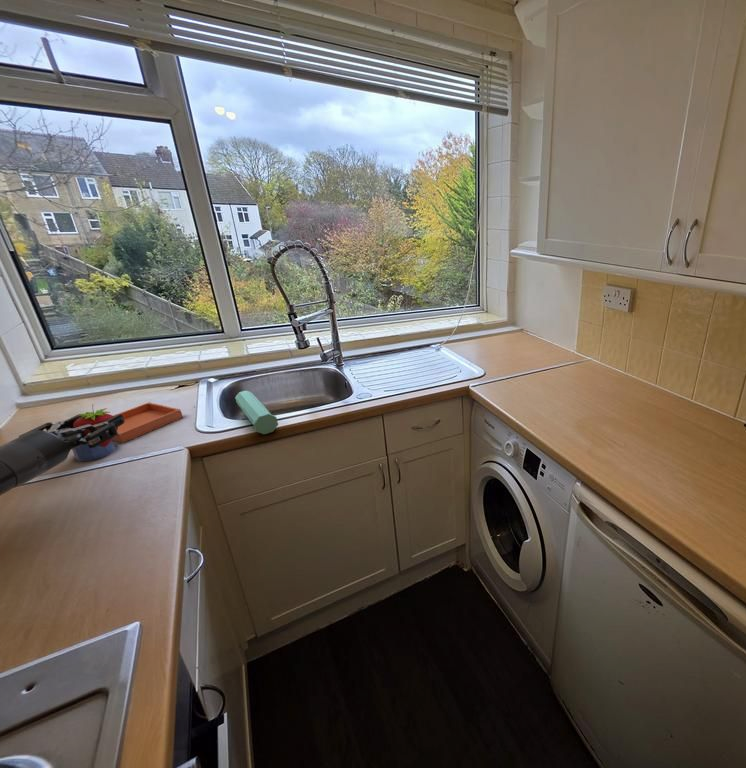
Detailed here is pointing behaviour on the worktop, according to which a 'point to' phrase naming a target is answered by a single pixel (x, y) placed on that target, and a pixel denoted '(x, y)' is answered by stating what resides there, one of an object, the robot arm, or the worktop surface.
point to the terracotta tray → (145, 420)
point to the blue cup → (92, 452)
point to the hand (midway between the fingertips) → (102, 418)
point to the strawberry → (93, 421)
